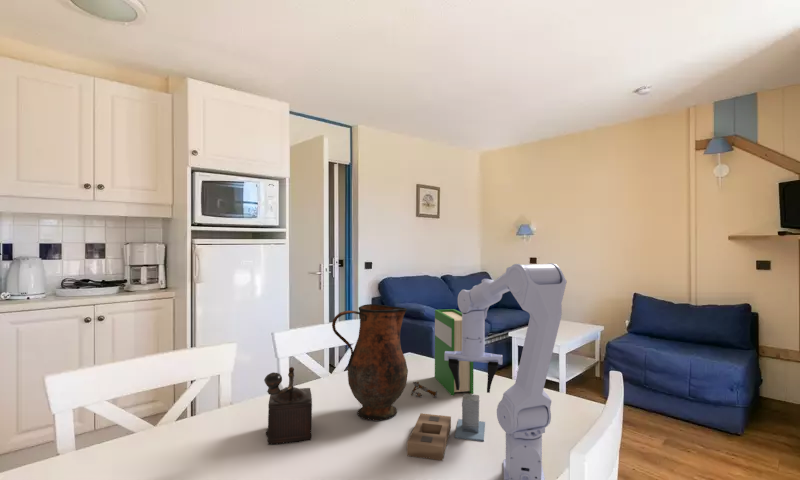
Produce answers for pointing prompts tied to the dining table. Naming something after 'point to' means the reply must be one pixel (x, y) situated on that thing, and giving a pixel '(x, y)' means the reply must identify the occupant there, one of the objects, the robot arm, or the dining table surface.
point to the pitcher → (377, 360)
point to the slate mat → (470, 435)
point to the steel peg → (470, 413)
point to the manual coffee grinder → (288, 411)
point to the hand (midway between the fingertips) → (473, 390)
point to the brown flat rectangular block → (429, 437)
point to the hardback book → (450, 340)
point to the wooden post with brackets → (423, 390)
